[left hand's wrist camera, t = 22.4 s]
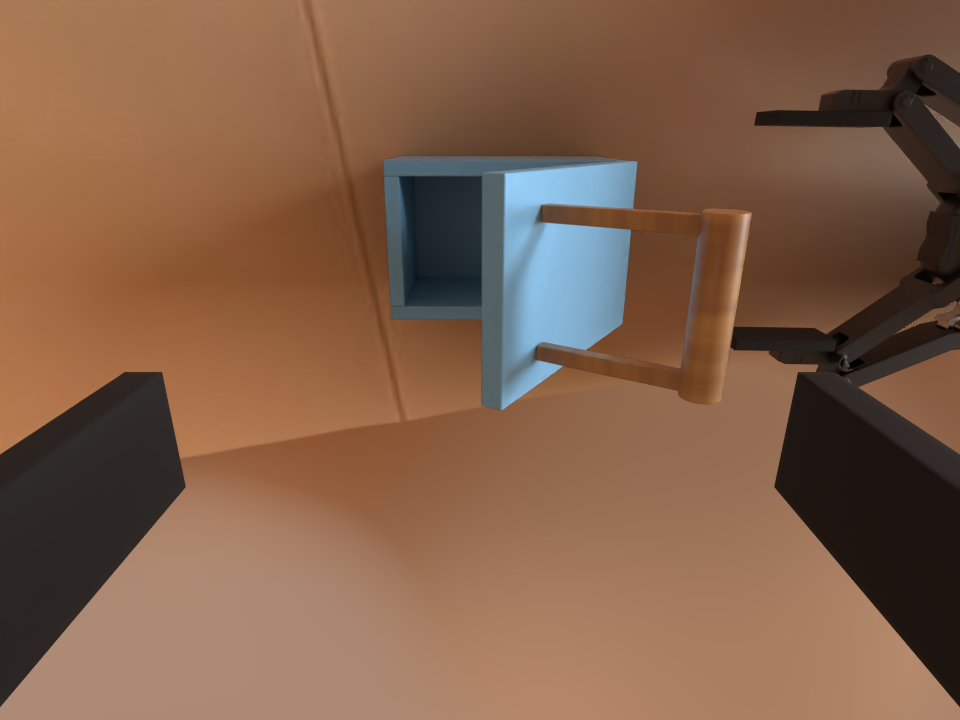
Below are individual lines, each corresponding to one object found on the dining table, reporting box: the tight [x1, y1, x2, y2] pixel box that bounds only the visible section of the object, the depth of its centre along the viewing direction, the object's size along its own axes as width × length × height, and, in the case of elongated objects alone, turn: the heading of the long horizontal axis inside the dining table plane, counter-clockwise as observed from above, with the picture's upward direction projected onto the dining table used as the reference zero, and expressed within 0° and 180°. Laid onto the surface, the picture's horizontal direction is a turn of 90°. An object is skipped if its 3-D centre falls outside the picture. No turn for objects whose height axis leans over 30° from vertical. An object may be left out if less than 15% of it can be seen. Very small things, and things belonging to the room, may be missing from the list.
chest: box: [383, 156, 625, 320], centre depth 38 cm, size 14×9×9 cm
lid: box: [482, 161, 752, 410], centre depth 26 cm, size 14×9×9 cm
